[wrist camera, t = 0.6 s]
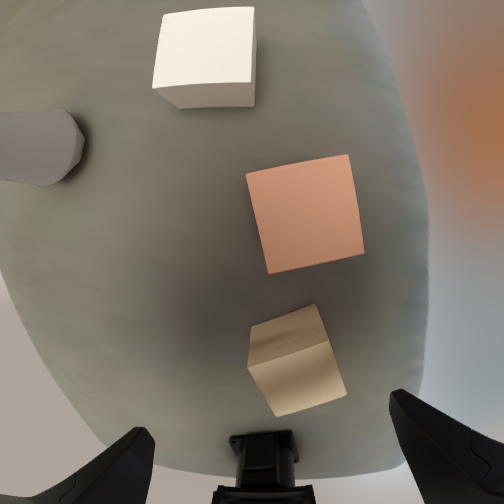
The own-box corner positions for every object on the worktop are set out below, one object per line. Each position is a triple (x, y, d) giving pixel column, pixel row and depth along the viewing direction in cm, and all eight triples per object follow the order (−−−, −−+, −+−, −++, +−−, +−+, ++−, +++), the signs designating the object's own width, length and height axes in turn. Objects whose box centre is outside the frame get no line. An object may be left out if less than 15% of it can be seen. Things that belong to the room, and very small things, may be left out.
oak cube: (333, 353, 21) (347, 394, 16) (275, 373, 21) (276, 416, 16) (315, 302, 20) (328, 339, 15) (251, 326, 20) (247, 367, 15)
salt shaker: (102, 159, 17) (-50, 161, 5) (55, 197, 18) (-75, 229, 6) (81, 99, 16) (-48, 66, 3) (37, 140, 17) (-83, 141, 4)
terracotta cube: (339, 234, 18) (364, 253, 13) (267, 249, 19) (268, 274, 14) (325, 160, 17) (347, 154, 12) (250, 175, 17) (245, 173, 13)
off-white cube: (254, 107, 16) (250, 82, 11) (179, 109, 16) (152, 88, 12) (256, 44, 15) (254, 6, 10) (185, 47, 15) (163, 14, 10)
